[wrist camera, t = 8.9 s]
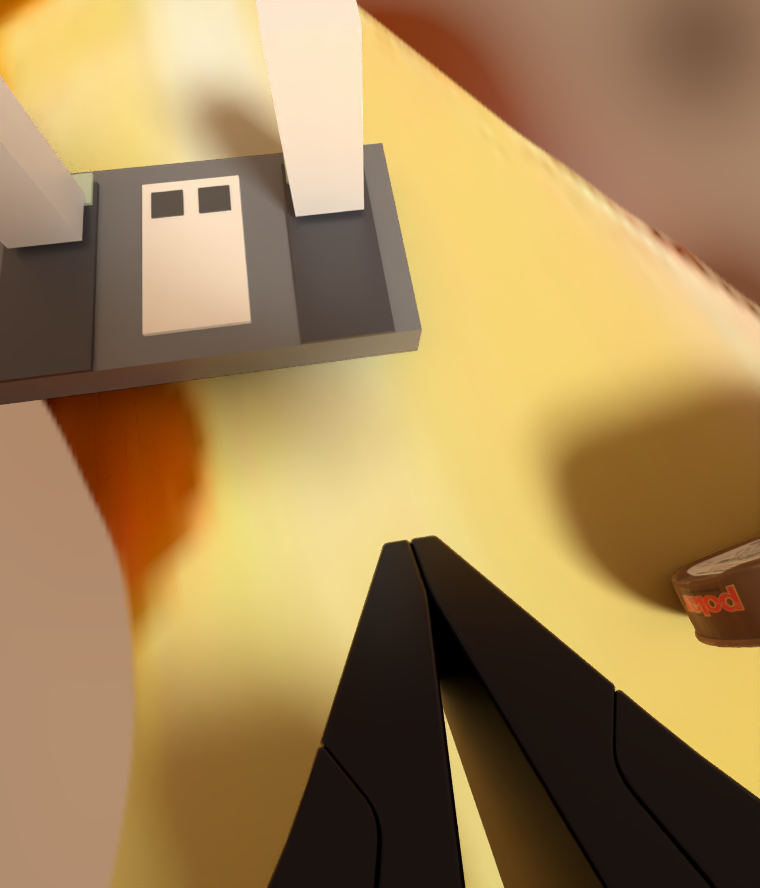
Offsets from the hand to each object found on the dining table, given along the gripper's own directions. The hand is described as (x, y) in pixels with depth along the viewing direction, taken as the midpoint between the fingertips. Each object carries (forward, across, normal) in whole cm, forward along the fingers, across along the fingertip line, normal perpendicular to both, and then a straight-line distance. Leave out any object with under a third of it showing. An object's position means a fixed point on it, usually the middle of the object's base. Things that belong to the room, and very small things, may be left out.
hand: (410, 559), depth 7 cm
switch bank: (+22, +7, -2) cm, 23 cm away
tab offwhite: (+22, 0, -6) cm, 23 cm away
